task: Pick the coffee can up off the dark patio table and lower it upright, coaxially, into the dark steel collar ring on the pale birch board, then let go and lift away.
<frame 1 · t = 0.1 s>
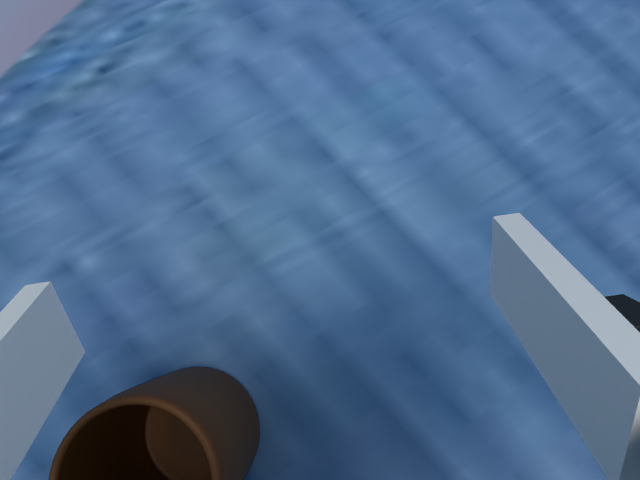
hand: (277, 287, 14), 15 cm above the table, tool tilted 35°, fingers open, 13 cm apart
mug: (221, 458, 28), on the table
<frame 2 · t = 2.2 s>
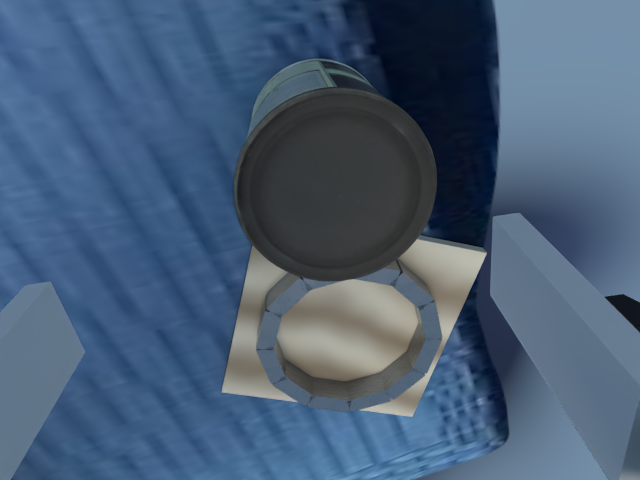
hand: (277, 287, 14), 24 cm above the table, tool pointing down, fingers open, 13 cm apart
coffee can: (316, 127, 36), on the table
steel collar: (348, 335, 42), on the birch board, point 2 cm above the table
birch board: (345, 320, 44), on the table
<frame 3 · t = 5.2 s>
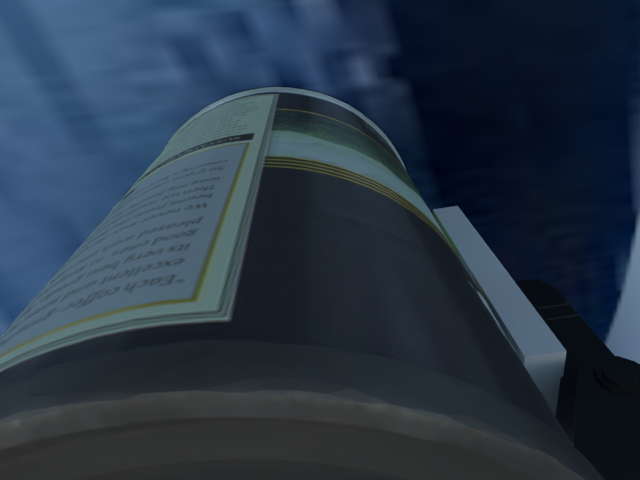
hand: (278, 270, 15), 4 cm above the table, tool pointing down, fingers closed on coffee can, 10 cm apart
coffee can: (281, 217, 19), on the table, touching gripper
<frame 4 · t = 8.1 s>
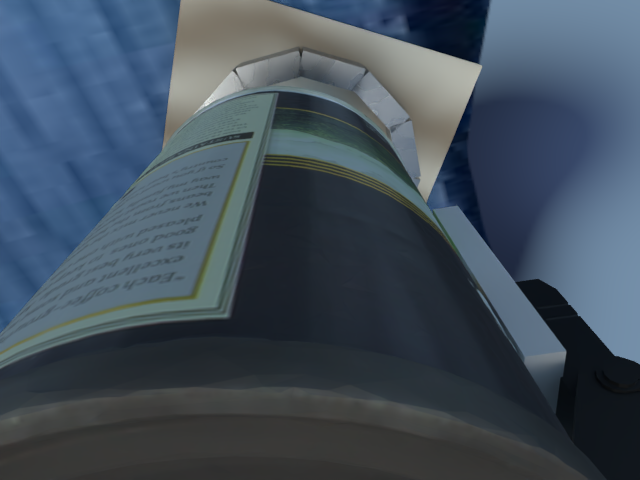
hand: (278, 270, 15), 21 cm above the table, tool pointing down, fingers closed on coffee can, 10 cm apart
coffee can: (281, 216, 19), point 17 cm above the table, touching gripper
steel collar: (302, 172, 34), on the birch board, point 2 cm above the table
birch board: (302, 162, 36), on the table
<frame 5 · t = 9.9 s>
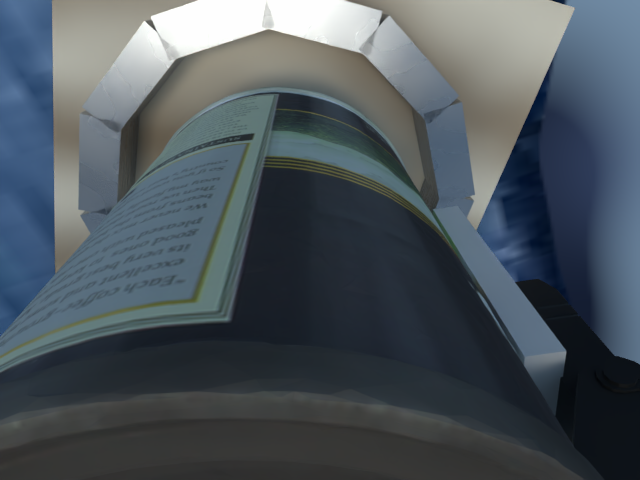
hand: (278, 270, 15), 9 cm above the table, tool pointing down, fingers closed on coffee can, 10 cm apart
coffee can: (281, 217, 19), point 5 cm above the table, touching gripper
steel collar: (280, 193, 21), on the birch board, point 2 cm above the table
birch board: (281, 176, 23), on the table
when the fingers open (6 cm above the table, at t = 11.1 s): coffee can stays where it is, resting on birch board.
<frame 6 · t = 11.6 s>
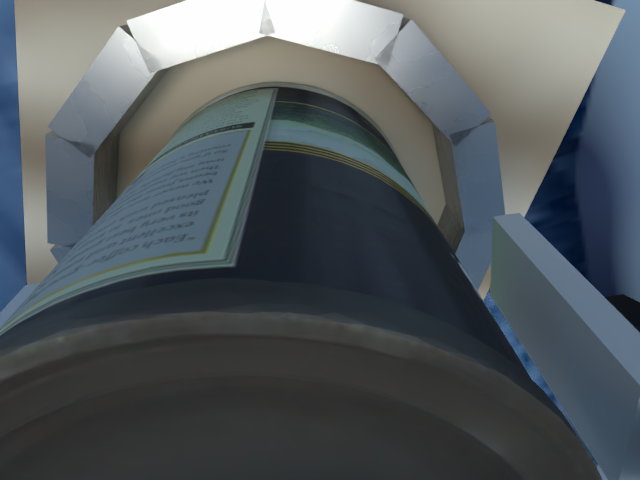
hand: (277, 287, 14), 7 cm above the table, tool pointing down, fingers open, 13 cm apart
coffee can: (281, 207, 19), point 1 cm above the table, touching birch board
steel collar: (281, 222, 18), on the birch board, point 2 cm above the table
birch board: (283, 199, 20), on the table
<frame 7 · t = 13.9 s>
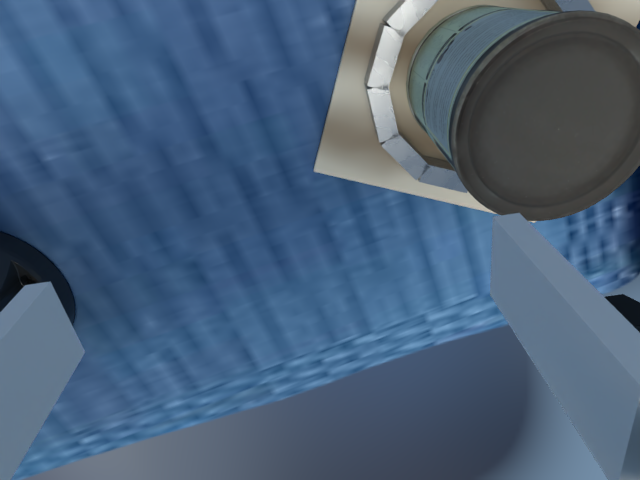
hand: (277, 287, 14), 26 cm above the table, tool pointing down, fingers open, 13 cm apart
coffee can: (471, 78, 36), point 1 cm above the table, touching birch board
steel collar: (478, 82, 34), on the birch board, point 2 cm above the table
birch board: (469, 76, 36), on the table
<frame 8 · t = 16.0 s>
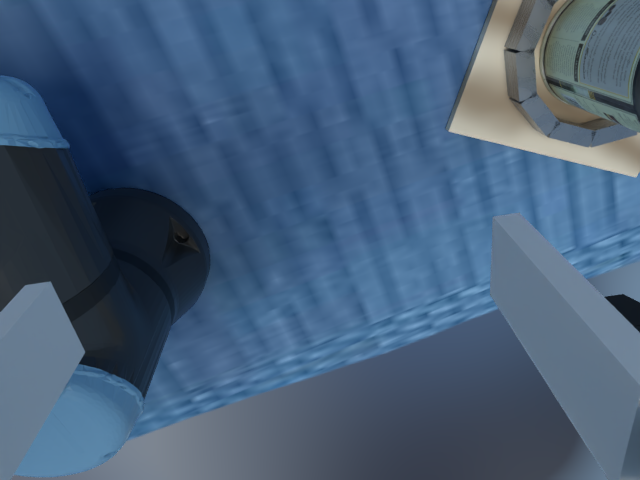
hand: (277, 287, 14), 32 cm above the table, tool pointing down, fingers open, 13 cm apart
coffee can: (596, 45, 41), point 1 cm above the table, touching birch board
steel collar: (606, 47, 39), on the birch board, point 2 cm above the table
birch board: (591, 44, 41), on the table
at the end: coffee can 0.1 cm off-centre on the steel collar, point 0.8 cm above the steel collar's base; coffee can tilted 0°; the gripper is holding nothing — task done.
